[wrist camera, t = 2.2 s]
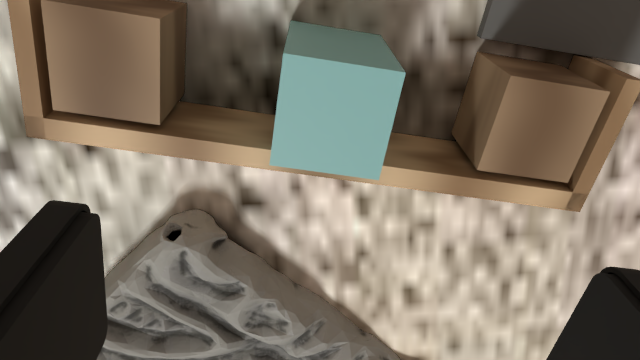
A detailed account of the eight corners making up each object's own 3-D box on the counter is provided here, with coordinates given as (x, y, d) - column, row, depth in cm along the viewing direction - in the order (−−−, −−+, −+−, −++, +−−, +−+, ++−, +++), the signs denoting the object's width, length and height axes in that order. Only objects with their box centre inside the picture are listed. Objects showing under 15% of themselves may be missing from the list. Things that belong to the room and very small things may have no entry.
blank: (380, 35, 23) (405, 72, 17) (362, 119, 25) (378, 180, 19) (290, 20, 23) (283, 53, 17) (279, 107, 25) (269, 165, 19)
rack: (588, 56, 24) (644, 81, 20) (539, 170, 27) (579, 211, 23) (60, -33, 21) (3, -25, 17) (72, 103, 24) (26, 136, 20)
